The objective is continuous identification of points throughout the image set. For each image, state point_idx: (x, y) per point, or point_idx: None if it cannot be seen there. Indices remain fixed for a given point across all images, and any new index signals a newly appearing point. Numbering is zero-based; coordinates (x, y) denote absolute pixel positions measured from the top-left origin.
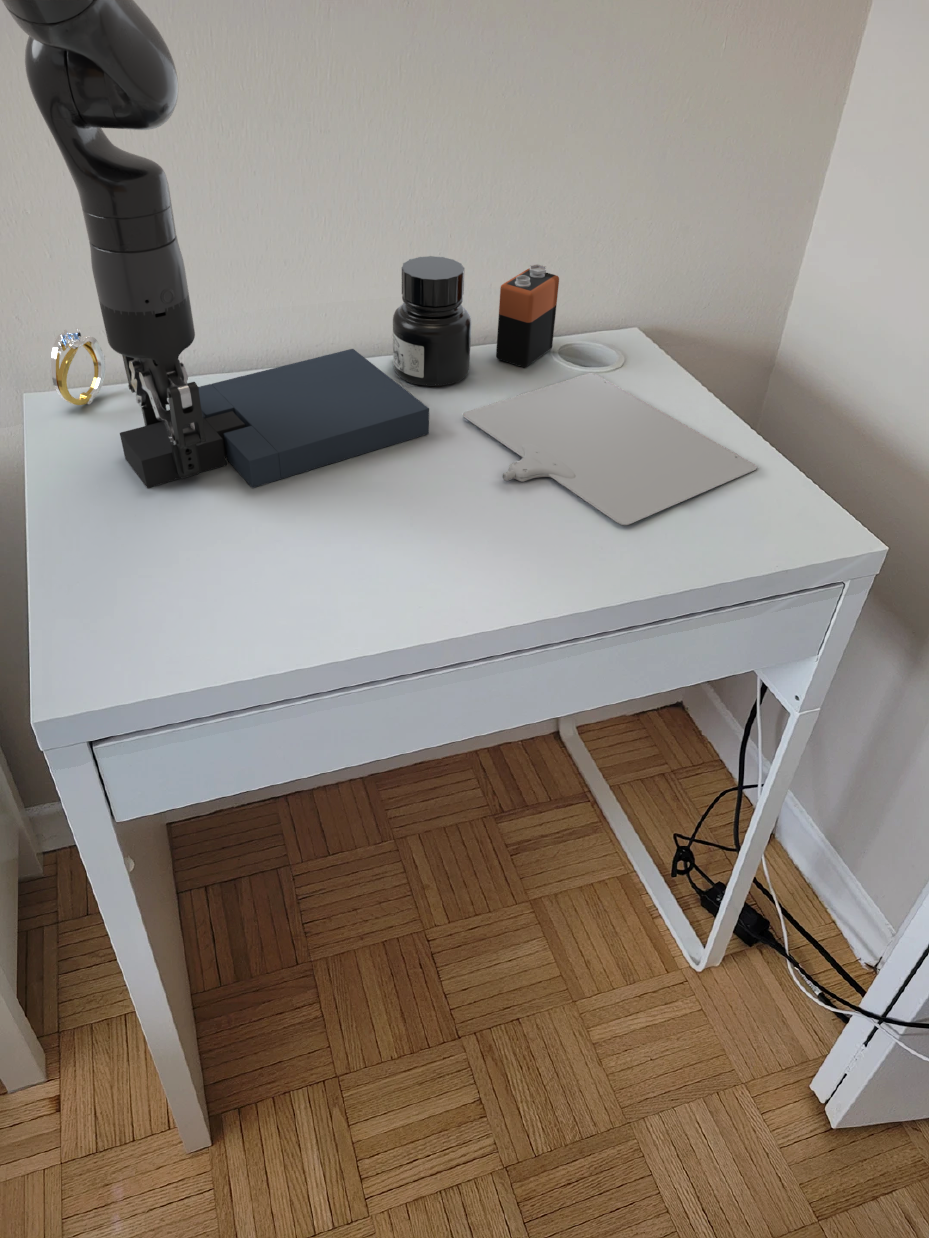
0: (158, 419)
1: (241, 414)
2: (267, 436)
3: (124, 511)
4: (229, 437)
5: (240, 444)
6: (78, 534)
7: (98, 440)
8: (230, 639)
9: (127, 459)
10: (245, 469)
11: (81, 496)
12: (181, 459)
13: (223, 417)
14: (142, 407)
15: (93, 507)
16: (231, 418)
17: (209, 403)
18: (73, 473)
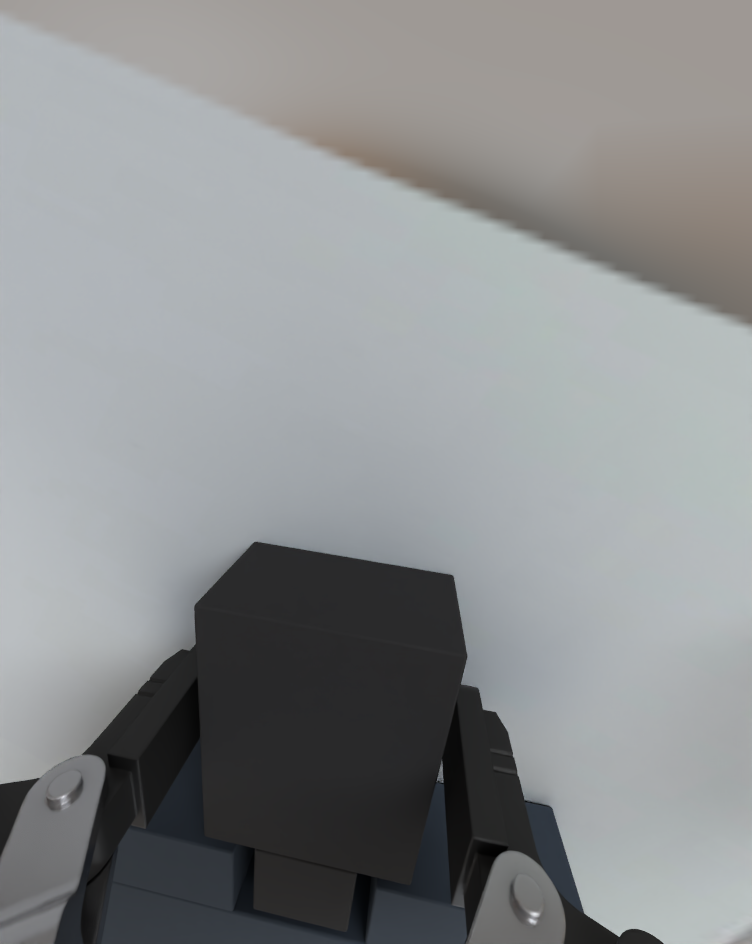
0: (40, 915)
1: (310, 933)
2: (154, 900)
3: (171, 429)
4: (200, 850)
5: (145, 844)
6: (108, 236)
7: (643, 571)
8: None
9: (423, 578)
10: None
11: (329, 353)
12: (137, 702)
13: (324, 903)
14: (499, 848)
15: (241, 357)
16: (304, 910)
17: (438, 930)
18: (496, 398)
